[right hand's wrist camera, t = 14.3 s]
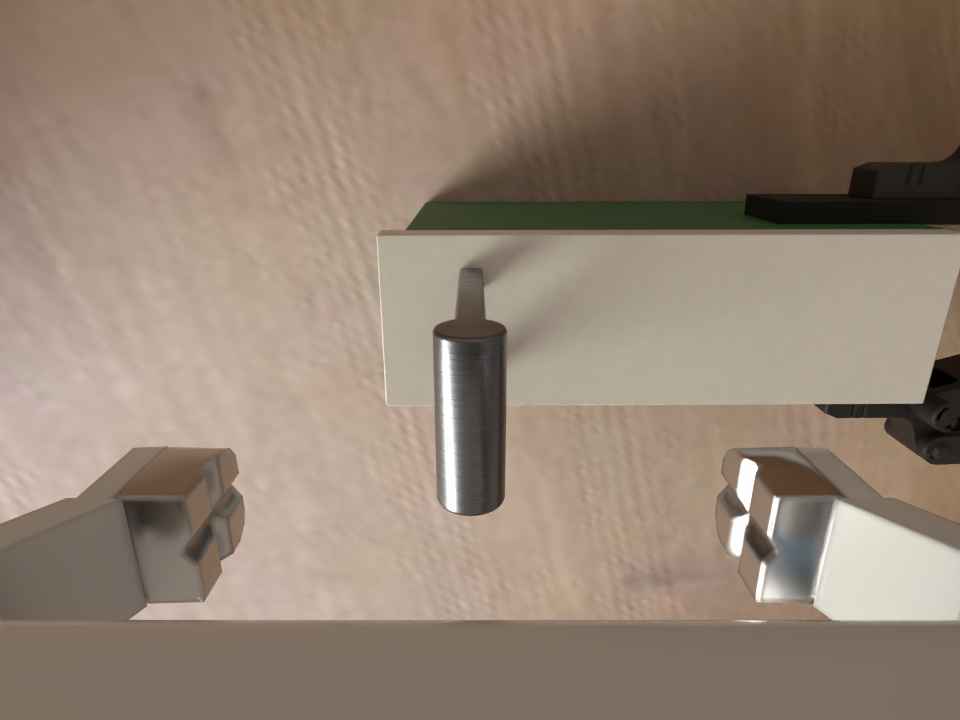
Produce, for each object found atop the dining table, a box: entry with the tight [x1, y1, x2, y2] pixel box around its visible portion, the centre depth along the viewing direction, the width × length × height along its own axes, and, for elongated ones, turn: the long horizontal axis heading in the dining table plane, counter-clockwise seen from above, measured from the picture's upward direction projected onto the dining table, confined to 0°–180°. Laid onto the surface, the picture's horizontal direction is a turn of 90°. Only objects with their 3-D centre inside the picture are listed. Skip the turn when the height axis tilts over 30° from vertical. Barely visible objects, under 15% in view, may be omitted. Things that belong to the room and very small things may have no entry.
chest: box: [406, 202, 942, 230], centre depth 24 cm, size 17×6×9 cm, turn 90°
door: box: [376, 229, 960, 516], centre depth 16 cm, size 18×6×8 cm, turn 90°
